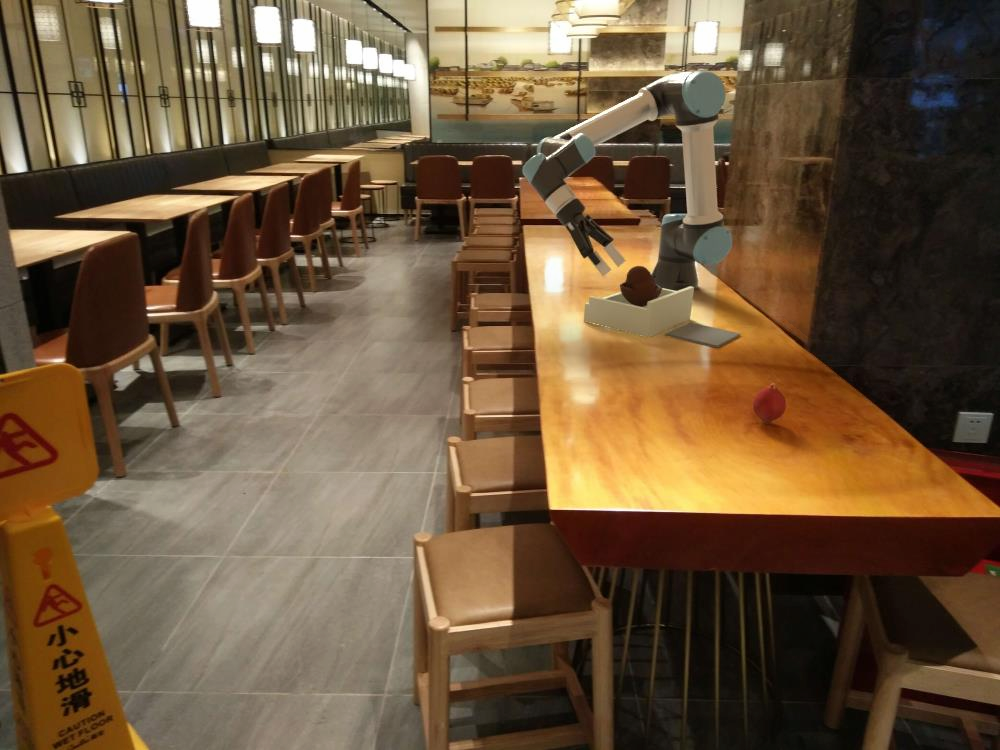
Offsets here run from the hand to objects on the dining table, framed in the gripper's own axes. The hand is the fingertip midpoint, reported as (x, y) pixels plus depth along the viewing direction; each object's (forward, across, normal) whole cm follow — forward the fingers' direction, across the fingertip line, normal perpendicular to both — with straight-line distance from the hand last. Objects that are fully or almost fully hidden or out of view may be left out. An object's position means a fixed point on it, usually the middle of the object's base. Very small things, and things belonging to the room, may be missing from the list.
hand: (614, 268), depth 198 cm
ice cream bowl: (+15, -1, -4) cm, 16 cm away
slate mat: (+28, +4, +9) cm, 29 cm away
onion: (+43, +54, +24) cm, 73 cm away
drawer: (+15, -1, -4) cm, 15 cm away
